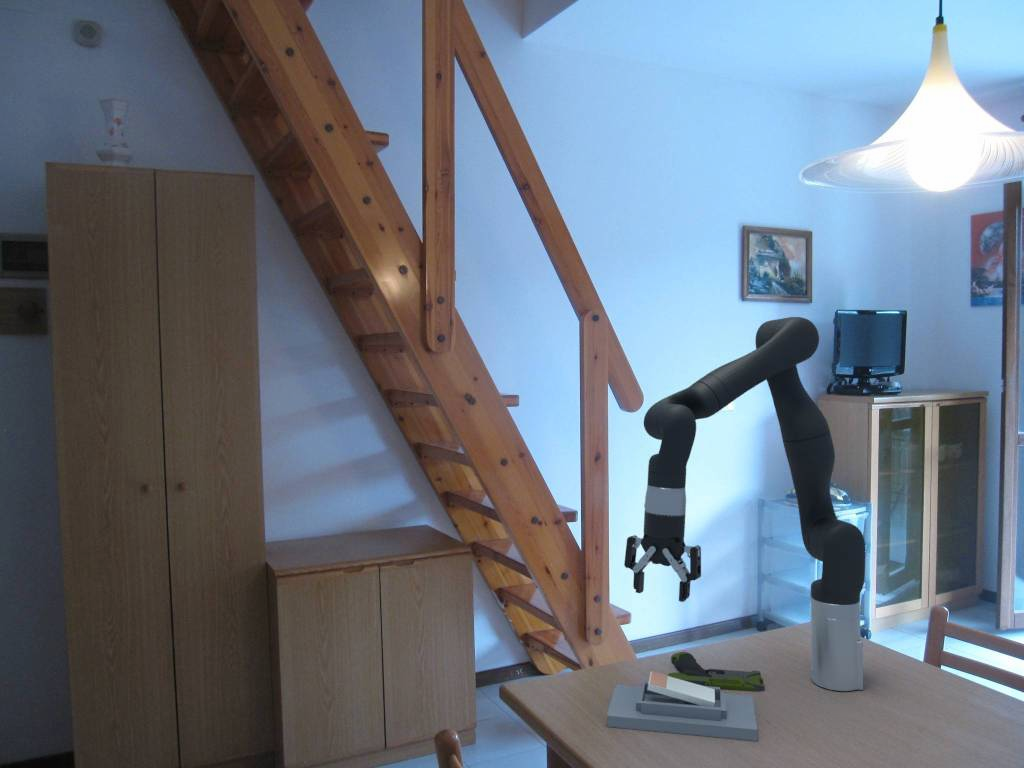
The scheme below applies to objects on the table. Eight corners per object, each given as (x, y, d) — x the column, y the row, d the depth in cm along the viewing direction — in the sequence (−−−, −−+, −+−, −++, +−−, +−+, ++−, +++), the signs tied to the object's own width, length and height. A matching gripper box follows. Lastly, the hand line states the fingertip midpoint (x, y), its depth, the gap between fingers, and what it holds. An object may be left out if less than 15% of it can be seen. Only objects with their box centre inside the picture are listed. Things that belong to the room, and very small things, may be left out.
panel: (752, 706, 147) (752, 685, 147) (757, 741, 134) (757, 718, 134) (615, 694, 154) (615, 674, 153) (606, 726, 140) (606, 704, 140)
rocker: (713, 695, 145) (714, 688, 145) (713, 709, 139) (715, 701, 139) (649, 677, 148) (650, 670, 148) (647, 689, 142) (648, 682, 142)
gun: (757, 667, 168) (765, 698, 153) (668, 660, 172) (667, 690, 157) (757, 656, 168) (765, 685, 153) (668, 649, 172) (667, 677, 157)
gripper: (708, 512, 144) (704, 599, 144) (637, 503, 152) (633, 585, 152) (695, 518, 138) (690, 608, 138) (621, 507, 146) (617, 593, 146)
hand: (660, 596), depth 145 cm, fingers open, 8 cm apart
